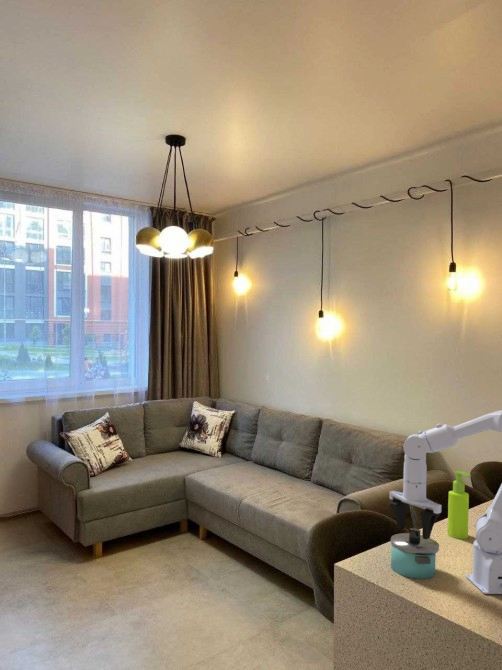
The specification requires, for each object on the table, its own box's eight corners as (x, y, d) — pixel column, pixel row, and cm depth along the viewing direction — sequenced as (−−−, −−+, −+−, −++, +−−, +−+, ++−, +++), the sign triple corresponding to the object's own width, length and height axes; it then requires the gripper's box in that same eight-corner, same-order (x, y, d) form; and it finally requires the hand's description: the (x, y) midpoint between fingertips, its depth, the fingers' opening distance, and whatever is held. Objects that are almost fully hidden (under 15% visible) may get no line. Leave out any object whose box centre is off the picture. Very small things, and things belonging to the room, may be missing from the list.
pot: (445, 582, 124) (445, 557, 124) (401, 581, 123) (402, 557, 124) (422, 557, 138) (423, 536, 138) (383, 557, 138) (383, 535, 138)
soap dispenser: (460, 541, 152) (461, 474, 152) (443, 533, 158) (444, 469, 159) (474, 538, 154) (476, 473, 155) (457, 531, 160) (459, 468, 161)
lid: (443, 543, 133) (443, 528, 133) (433, 559, 123) (433, 542, 123) (398, 533, 140) (398, 519, 140) (384, 547, 129) (385, 531, 130)
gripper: (448, 485, 128) (447, 539, 128) (401, 473, 140) (399, 522, 139) (432, 489, 124) (431, 545, 123) (384, 476, 135) (383, 527, 135)
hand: (413, 533), depth 131 cm, fingers open, 7 cm apart
